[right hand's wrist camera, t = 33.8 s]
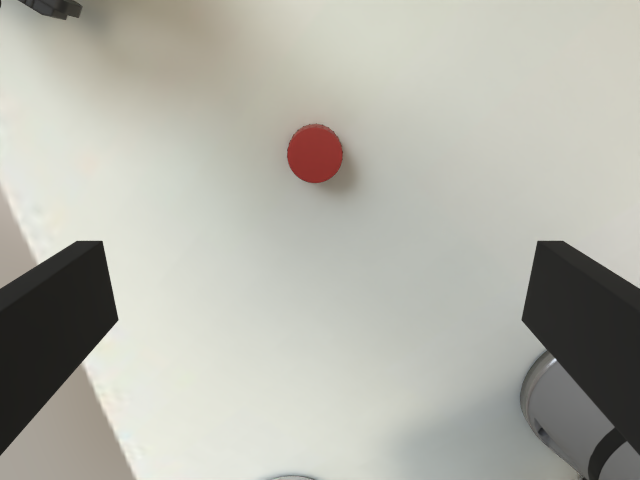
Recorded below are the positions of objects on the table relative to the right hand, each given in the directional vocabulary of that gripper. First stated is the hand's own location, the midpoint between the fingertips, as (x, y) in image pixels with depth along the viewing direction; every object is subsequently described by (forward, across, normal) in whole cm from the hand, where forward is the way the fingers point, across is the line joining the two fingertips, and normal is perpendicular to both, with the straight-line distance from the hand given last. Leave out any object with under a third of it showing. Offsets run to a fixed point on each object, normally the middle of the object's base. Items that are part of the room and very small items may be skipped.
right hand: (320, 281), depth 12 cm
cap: (+20, 0, -1) cm, 20 cm away
